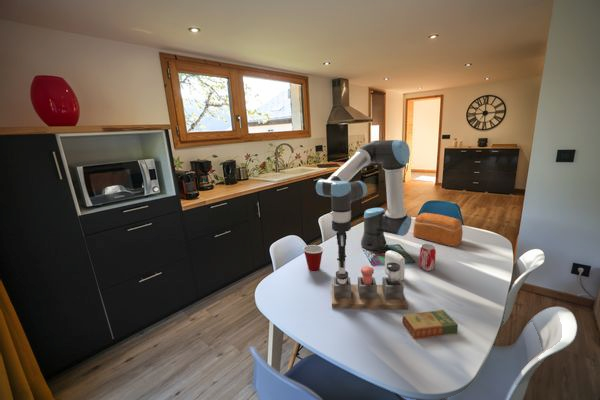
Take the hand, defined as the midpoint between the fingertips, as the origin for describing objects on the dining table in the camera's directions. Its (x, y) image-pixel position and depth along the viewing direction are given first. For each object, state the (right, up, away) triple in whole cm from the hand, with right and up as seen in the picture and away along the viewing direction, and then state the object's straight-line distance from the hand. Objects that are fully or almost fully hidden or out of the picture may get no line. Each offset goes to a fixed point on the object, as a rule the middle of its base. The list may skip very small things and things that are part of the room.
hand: (341, 272), depth 111 cm
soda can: (+47, -4, +23) cm, 52 cm away
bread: (+69, +6, +56) cm, 89 cm away
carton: (+29, -16, -16) cm, 37 cm away
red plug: (+11, -7, +1) cm, 13 cm away
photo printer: (+28, -6, +18) cm, 34 cm away
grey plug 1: (+1, -9, +2) cm, 9 cm away
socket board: (+11, -11, +2) cm, 16 cm away
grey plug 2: (+21, -5, -1) cm, 22 cm away
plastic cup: (-10, -6, +28) cm, 30 cm away
